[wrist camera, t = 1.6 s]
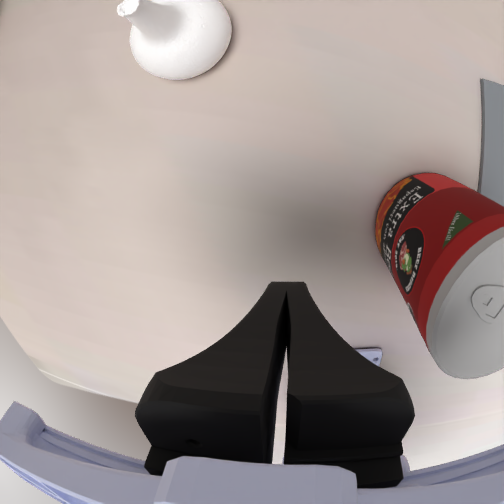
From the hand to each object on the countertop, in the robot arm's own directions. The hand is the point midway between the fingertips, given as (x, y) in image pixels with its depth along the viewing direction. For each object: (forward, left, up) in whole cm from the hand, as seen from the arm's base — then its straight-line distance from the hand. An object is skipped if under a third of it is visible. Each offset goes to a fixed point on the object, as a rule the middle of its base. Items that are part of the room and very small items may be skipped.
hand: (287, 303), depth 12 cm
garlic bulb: (+13, +6, -10) cm, 17 cm away
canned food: (0, -10, -10) cm, 14 cm away
